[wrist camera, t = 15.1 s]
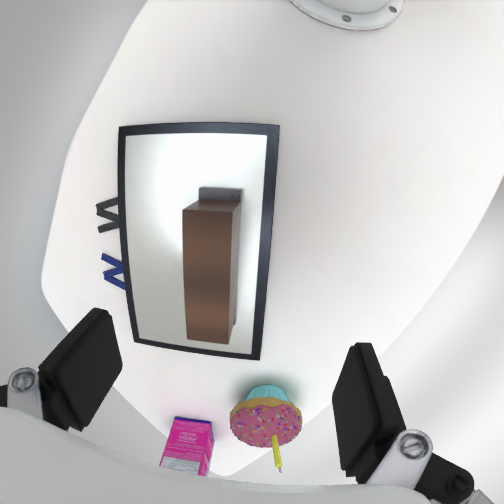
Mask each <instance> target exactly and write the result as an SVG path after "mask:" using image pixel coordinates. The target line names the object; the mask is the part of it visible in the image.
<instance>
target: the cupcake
mask: <svg viewBox="0 0 504 504" xmlns="http://www.w3.org/2000/svg"><path fill="white" fill-rule="evenodd" d="M301 427H302V415H301V411H300V410H299V409H298V408H296V407H295V406H294V405H293V404H292V403H291V402H289V400H288V398H287V396H286V393H285V392H284V391H283V390H282V389H281V388H279V387H277V386H274V385H260V386H257V387H255V388H253V389H252V390H251V391H250V393H249V395H248V396H247V398H246V400H245V401H244V402H240V403H238V404H237V405H236V406H235V407H234V409H233V410H232V411H231V413H230V429H231V430H232V431H233V433H234V435H235V436H237V438H238V439H239V440H241V441H243V442H245V443H247V444H248V445H250V446H251V445H252V446H256V447H261V448H262V447H273V453H274V460H275V466H276V468H279V472H281V473H282V471H281V467H282V463H281V457H280V451H279V446H281V445H284V444H286V443H289V442H290V441H292V439H294V438H295V436H297V435H298V433H299V432H300V430H301Z"/></svg>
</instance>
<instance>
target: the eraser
mask: <svg viewBox="0 0 504 504" xmlns="http://www.w3.org/2000/svg"><path fill="white" fill-rule="evenodd" d="M241 207H242V189H241V188H223V187H200V188H199V198H198V200H197V201H196V202H194V203H192V204H191V205H189V206H188V207H186V208H184V209H183V210H182V248H183V282H184V303H185V320H186V334H187V339H188V340H194V341H202V342H209V343H217V344H226V345H228V344H229V341H230V336H231V332H232V328H233V325H235V323H236V315H237V291H238V268H239V247H240V227H241Z"/></svg>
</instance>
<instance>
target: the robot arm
mask: <svg viewBox="0 0 504 504" xmlns="http://www.w3.org/2000/svg"><path fill="white" fill-rule="evenodd" d="M290 1H291V2H292V3H293V4H294V5H296V6H297V7H298V8H299V9H300V10H302V11H303V12H305V13H307V14H308V15H310V16H311V17H313V18H315V19H318V20H320V21H322V22H324V23H327V24H330V25H333V26H336V27H340V28H345V29H351V30H373V29H378V28H382V27H384V26H386V25H388V24H390V23H391V22H392V21H393V20H395V19H396V18H397V17H398V15H399V14H400V13H401V10H402V8H403V4H404V0H290ZM344 20H345V21H346V22H345V21H344ZM122 366H123V364H122V359H121V355H120V351H119V347H118V343H117V339H116V334H115V330H114V325H113V320H112V316H111V315H110V314H109V312H108V311H107V310H104V309H99V308H93V309H92V310H91V311H90V312H89V313H88V314H87V315H86V316H85V317H84V318H83V319H82V320H81V321H80V322H79V323H78V324H77V325H76V326H75V327H74V328H73V329H72V330H71V332H70V333H69V334H68V335H67V336H66V337H65V338H64V339H63V340H62V341H61V342H60V343H59V344H58V345H57V347H56V348H55V349H54V350H53V351H52V352H51V353H50V355H48V357H47V358H46V359H45V360H44V361H43V363H42V364H40V366H39V367H38V368H39V372H38V373H37V372H36V371H35V370H34V369H32V368H28V367H27V368H20V369H18V370H16V371H14V372H13V373H12V374H11V376H10V377H9V380H8V384H7V385H3V386H0V504H494V503H493V502H492V501H491V500H490V499H489V498H488V497H487V496H486V495H484V494H483V493H482V492H481V491H480V490H479V489H478V490H477V491H475V490H474V480H473V477H472V475H471V474H470V473H469V472H468V471H466V470H465V469H462V468H461V467H459V466H457V465H455V464H453V463H451V462H449V461H447V460H445V459H443V458H442V457H440V456H438V455H436V454H434V453H432V450H433V444H432V441H431V440H430V438H429V437H428V435H427V434H425V433H424V432H422V431H420V430H415V429H410V430H407V429H406V426H405V423H404V420H403V417H402V414H401V411H400V408H399V406H398V403H397V400H396V397H395V394H394V392H393V389H392V386H391V383H390V381H389V379H388V377H387V376H384V375H383V372H382V370H381V367H380V364H379V362H378V359H377V356H376V354H375V351H374V349H373V346H372V344H371V343H358V342H357V343H356V344H355V345H354V346H351V347H350V348H349V351H348V354H347V357H346V360H345V363H344V365H343V368H342V371H341V373H340V376H339V379H338V381H337V384H336V386H335V389H334V391H333V395H332V404H333V410H334V417H335V424H336V432H337V439H338V447H339V455H340V464H341V469H342V470H345V471H346V477H353V476H356V481H357V482H358V484H352V485H321V486H301V485H300V486H298V485H271V484H258V483H248V482H239V481H231V480H224V479H218V478H211V477H206V476H200V475H195V474H190V473H186V472H181V471H177V470H173V469H169V468H165V467H161V466H157V465H154V464H151V463H147V462H144V461H141V460H137V459H134V458H131V457H128V456H125V455H122V454H119V453H117V452H114V451H111V450H109V449H106V448H103V447H101V446H98V445H96V444H94V443H91V442H89V441H86V440H84V439H82V438H80V437H77V436H75V435H73V434H71V433H69V432H68V429H69V427H70V426H71V427H72V428H74V429H76V430H78V431H80V432H81V431H82V430H83V428H84V427H87V426H88V425H89V424H90V422H91V420H92V418H93V417H94V415H95V413H96V411H97V410H98V408H99V407H100V405H101V403H102V401H103V400H104V398H105V396H106V395H107V393H108V391H109V390H110V388H111V387H112V385H113V383H114V382H115V380H116V378H117V377H118V375H119V374H120V372H121V370H122Z"/></svg>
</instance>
